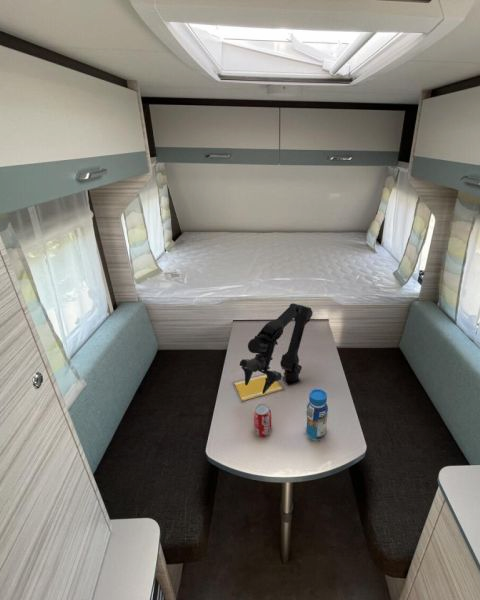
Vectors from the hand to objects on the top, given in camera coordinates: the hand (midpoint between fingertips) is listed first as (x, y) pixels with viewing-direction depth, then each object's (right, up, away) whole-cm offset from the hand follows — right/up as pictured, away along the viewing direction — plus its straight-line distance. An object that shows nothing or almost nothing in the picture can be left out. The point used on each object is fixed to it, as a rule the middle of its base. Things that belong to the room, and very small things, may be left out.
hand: (254, 389), depth 137 cm
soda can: (+4, -17, -3) cm, 17 cm away
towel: (-1, -5, +22) cm, 23 cm away
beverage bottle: (+25, -17, -4) cm, 31 cm away
